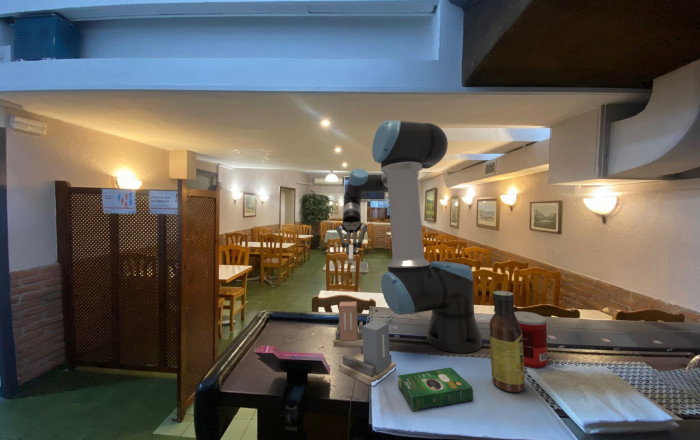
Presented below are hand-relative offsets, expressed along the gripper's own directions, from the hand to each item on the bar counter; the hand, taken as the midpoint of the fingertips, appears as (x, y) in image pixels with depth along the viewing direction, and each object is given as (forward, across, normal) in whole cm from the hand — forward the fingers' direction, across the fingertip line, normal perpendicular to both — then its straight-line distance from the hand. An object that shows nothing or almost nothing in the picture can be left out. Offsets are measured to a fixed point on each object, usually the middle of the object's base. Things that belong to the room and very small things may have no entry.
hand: (351, 260), depth 99 cm
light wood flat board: (+32, -3, 0) cm, 32 cm away
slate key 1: (+38, -8, +9) cm, 40 cm away
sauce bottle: (+43, -36, +10) cm, 56 cm away
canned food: (+35, -46, +3) cm, 58 cm away
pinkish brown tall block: (+26, 0, -3) cm, 26 cm away
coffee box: (+42, -26, +12) cm, 51 cm away
